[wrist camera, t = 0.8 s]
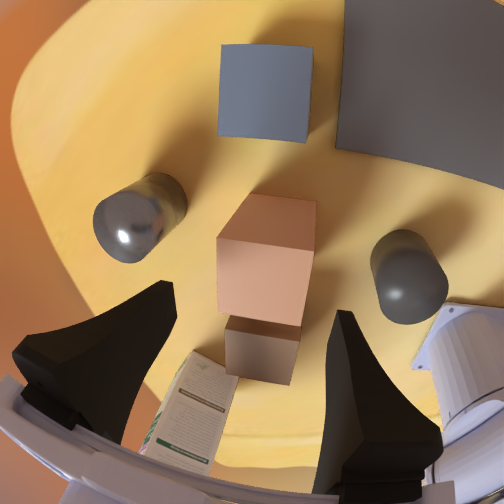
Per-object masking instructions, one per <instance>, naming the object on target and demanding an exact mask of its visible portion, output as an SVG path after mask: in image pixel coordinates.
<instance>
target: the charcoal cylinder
mask: <svg viewBox="0 0 504 504" xmlns="http://www.w3.org/2000/svg"><path fill="white" fill-rule="evenodd" d="M370 264H371V269H372V273H373V277H374V282H375V286H376V290H377V295H378V299H379V304H380V308H381V311H382V312H383V314H384V315H385V316H386V317H387V318H388V319H389V320H391V321H393V322H395V323H398V324H405V325H409V324H416V323H419V322H422V321H424V320H426V319H428V318H430V317H431V316H433V315H434V314H435V313H436V312H437V311H438V310H439V309H440V308H441V307H442V305H443V304H444V302H445V300H446V297H447V294H448V288H449V285H448V279H447V277H446V275H445V273H444V271H443V270H442V268H441V266H440V264H439V263H438V261H437V259H436V258H435V256H434V255H433V253H432V251H431V250H430V248H429V247H428V245H427V243H426V242H425V240H424V239H423V238H422V237H421V236H420V235H419V234H417V233H416V232H413V231H410V230H397V231H393V232H391V233H389V234H387V235H385V236H384V237H382V238H381V239H380V240H379V241H378V242H377V244H376V245H375V247H374V249H373V251H372V254H371V258H370Z"/></svg>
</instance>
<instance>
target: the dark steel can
mask: <svg viewBox="0 0 504 504" xmlns="http://www.w3.org/2000/svg"><path fill="white" fill-rule="evenodd" d="M186 211H187V199H186V195H185V192H184V190H183V188H182V187H181V185H180V184H179V183H178V182H177V181H176V180H175V179H174V178H172V177H171V176H169V175H166V174H163V173H154V174H150V175H148V176H146V177H144V178H142V179H141V180H139V181H137V182H135V183H133V184H131V185H129V186H127V187H126V188H124V189H122V190H120V191H118V192H116V193H115V194H113V195H111V196H109V197H108V198H106V199H104V200H103V201H101V202H100V203H99V204H98V205H97V207H96V209H95V211H94V215H93V227H94V232H95V235H96V237H97V240H98V242H99V243H100V245H101V246H102V248H103V249H104V250H105V251H106V252H107V253H108V254H109V255H110V256H111V257H113V258H114V259H116V260H118V261H120V262H124V263H136V262H139V261H141V260H142V259H143V258H144V257H145V256H146V255H147V254H148V253H149V252H150V251H151V250H152V249H153V248H154V247H155V246H156V245H157V244H158V243H159V242H160V241H161V240H162V239H163V238H165V237H166V236H167V235H168V234H169V233H170V232H171V231H172V230H173V229H174V228H175V227H176V226H177V225H178V224H179V223H180V222H181V221H182V220H183V218H184V217H185V214H186Z"/></svg>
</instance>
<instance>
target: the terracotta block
mask: <svg viewBox="0 0 504 504" xmlns="http://www.w3.org/2000/svg"><path fill="white" fill-rule="evenodd" d="M316 206H317V202H316V201H308V200H301V199H293V198H286V197H278V196H269V195H261V194H252V193H249V194H248V196H247V197H246V198H245V200H244V201H243V202H242V204H241V205H240V206H239V208H238V209H237V210H236V212H235V213H234V214H233V216H232V217H231V219H230V220H229V221H228V223H227V224H226V225H225V227H224V228H223V229H222V231H221V232H220V234H219V235H218V236H217V238H216V239H217V301H218V312H220V313H225V314H230V315H235V316H241V317H246V318H252V319H257V320H263V321H269V322H275V323H281V324H288V325H294V326H301V321H302V316H303V311H304V306H305V301H306V296H307V290H308V285H309V280H310V274H311V268H312V263H313V257H314V249H315V230H316Z"/></svg>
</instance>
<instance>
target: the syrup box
mask: <svg viewBox="0 0 504 504" xmlns="http://www.w3.org/2000/svg"><path fill="white" fill-rule="evenodd" d="M238 380H239V377H237V376H233V375H228V374H226V369H225V367H224V366H222V365H220V364H218V363H216V362H214V361H212V360H210V359H208V358H206V357H205V356H203V355H201V354H199V353H197V352H195V351H192V352H191V353H190V354H189V355H188V357H187V358H186V359H185V361H184V362H183V364H182V365H181V367H180V368H179V370H178V371H177V373H176V374H175V377H174V379H173V381H172V383H171V385H170V387H169V389H168V391H167V393H166V395H165V398H164V400H163V402H162V404H161V406H160V408H159V410H158V412H157V414H156V416H155V418H154V421H153V423H152V425H151V427H150V429H149V431H148V434H147V435H146V438H145V440H144V442H143V444H142V446H141V448H140V451H139V454H142V455H144V456H147V457H149V458H152V459H155V460H158V461H160V462H163V463H166V464H169V465H172V466H175V467H178V468H181V469H184V470H187V471H191V472H194V473H198V474H201V475H205V476H209V473H210V470H211V467H212V464H213V461H214V457H215V454H216V451H217V448H218V445H219V442H220V439H221V435H222V433H223V429H224V426H225V423H226V419H227V416H228V413H229V409H230V406H231V403H232V400H233V396H234V393H235V390H236V386H237V383H238Z"/></svg>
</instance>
